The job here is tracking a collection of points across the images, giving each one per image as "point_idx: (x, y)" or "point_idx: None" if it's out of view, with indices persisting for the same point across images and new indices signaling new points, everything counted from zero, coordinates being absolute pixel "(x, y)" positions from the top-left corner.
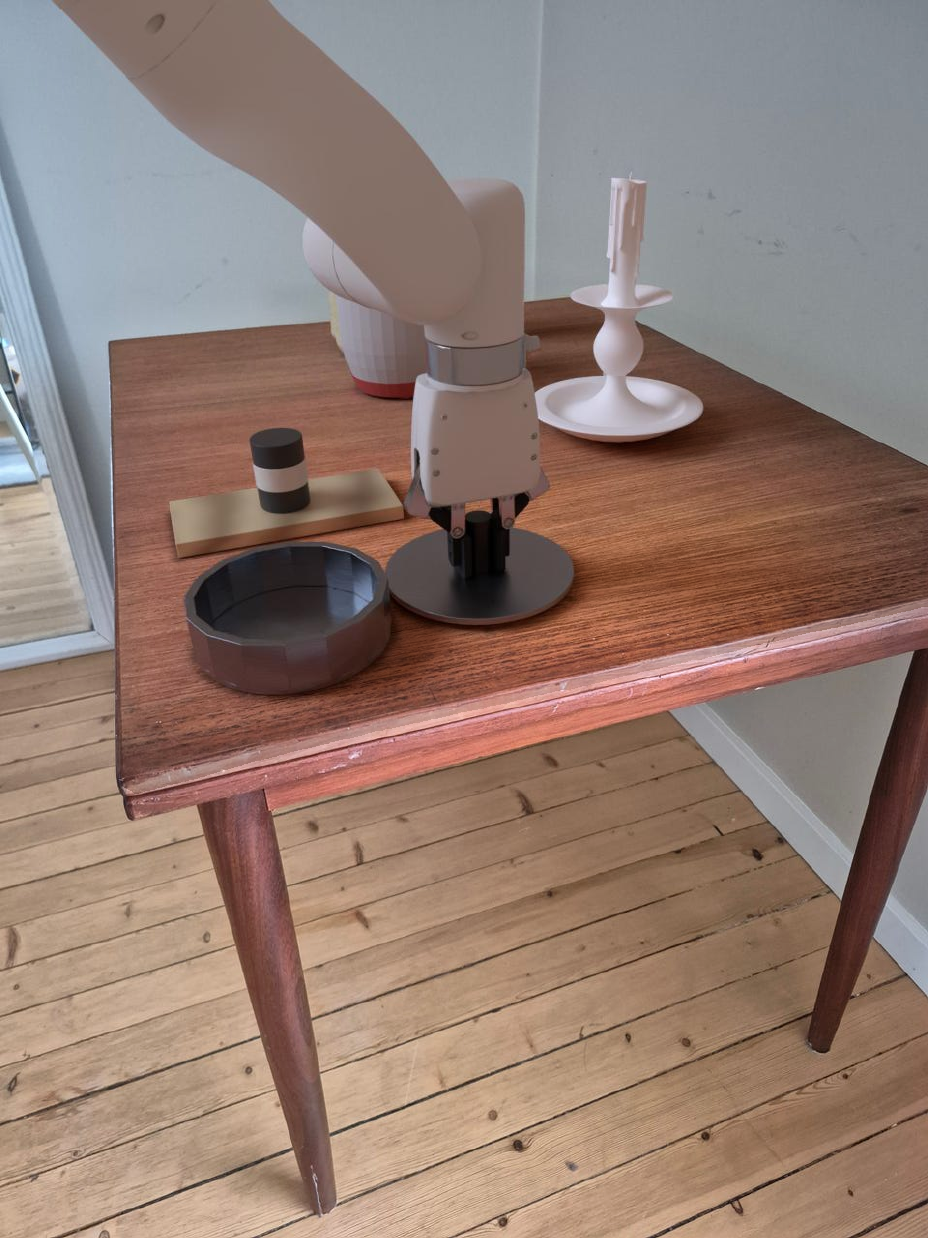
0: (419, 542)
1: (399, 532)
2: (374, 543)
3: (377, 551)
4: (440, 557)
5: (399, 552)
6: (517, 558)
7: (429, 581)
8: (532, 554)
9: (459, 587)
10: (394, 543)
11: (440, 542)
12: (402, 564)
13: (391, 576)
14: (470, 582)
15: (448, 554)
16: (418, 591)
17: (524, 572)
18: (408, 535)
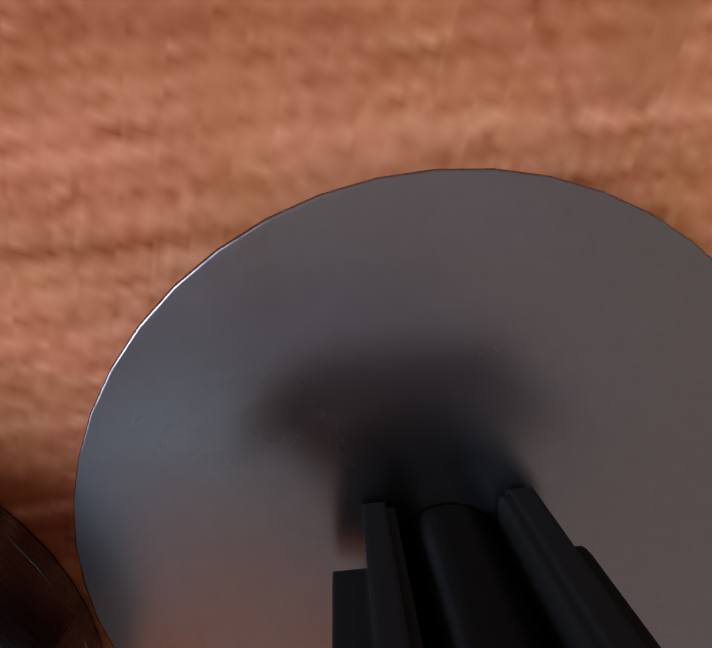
0: (252, 285)
1: (193, 15)
2: (57, 102)
3: (72, 192)
4: (320, 441)
5: (146, 353)
6: (604, 521)
7: (243, 591)
8: (669, 505)
9: None
10: (157, 135)
11: (350, 313)
12: (151, 457)
13: (100, 530)
14: None
15: (332, 591)
16: (194, 641)
17: None
18: (235, 68)
